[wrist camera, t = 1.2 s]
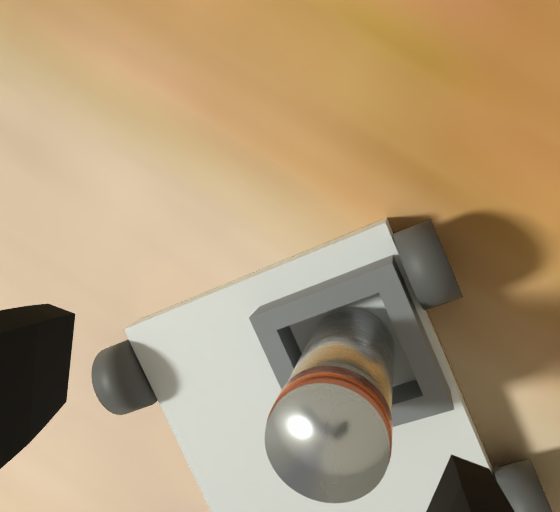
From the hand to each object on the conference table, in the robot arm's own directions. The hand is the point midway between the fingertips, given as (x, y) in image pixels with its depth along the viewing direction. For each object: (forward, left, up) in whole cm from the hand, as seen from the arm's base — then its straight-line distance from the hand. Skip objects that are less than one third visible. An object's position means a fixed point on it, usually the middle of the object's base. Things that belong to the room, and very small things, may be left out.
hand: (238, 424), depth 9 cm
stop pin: (-3, 0, -11) cm, 11 cm away
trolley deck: (-6, +3, -12) cm, 14 cm away
